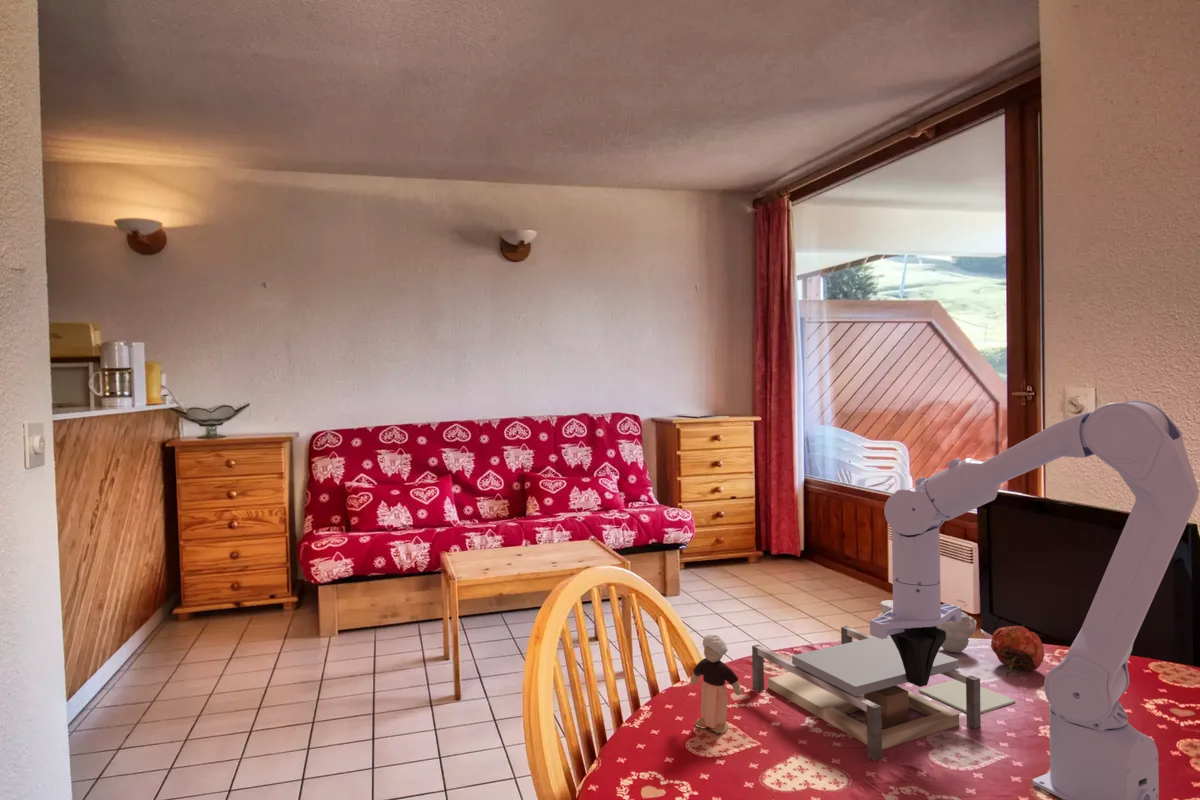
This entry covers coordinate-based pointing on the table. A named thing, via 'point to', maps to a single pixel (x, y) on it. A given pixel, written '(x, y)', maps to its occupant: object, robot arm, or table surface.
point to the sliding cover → (864, 665)
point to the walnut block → (891, 705)
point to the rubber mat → (956, 696)
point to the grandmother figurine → (714, 684)
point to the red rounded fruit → (1018, 648)
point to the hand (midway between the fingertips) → (917, 683)
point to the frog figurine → (958, 633)
